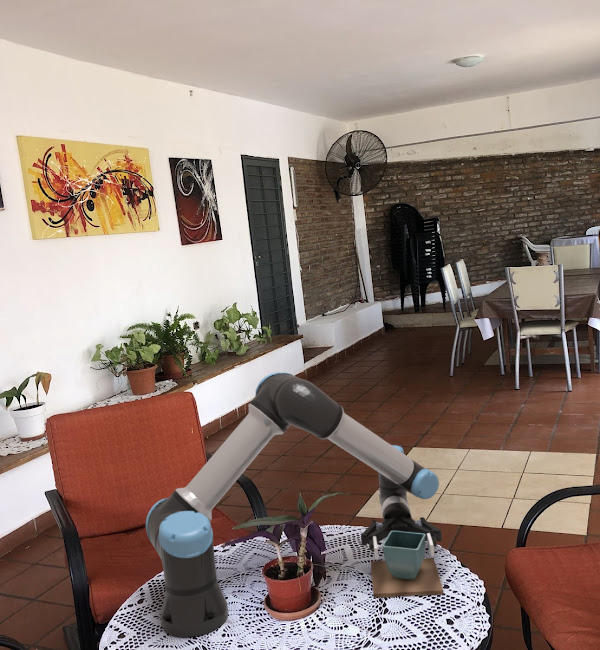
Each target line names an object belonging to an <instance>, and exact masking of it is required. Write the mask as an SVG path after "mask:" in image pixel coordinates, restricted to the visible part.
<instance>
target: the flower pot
mask: <svg viewBox="0 0 600 650" xmlns="http://www.w3.org/2000/svg"><path fill="white" fill-rule="evenodd" d="M425 537H426V534H423V533H412V532H402V531H391V532H390V533H389V535H388V537H386V538H385V540H384V542H383V543H382V545H381V547H382V552H383V557H384V560H385V562H386V565H387V568H388V570H389V571H390V573H391V574H392V575H393V576H394V577H395V578H403V579H411V580H414V579H415V578H416V576H417V573H418V571H419V569H420V567H421V564H422V562H423V559H424V558H425V552H426V540H425Z"/></svg>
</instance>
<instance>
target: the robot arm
mask: <svg viewBox="0 0 600 650" xmlns="http://www.w3.org/2000/svg"><path fill="white" fill-rule="evenodd" d="M290 426H293V427H295V428H297V429H300V430H303V431H305V432H307V433H309V434H311V435H313V436H315V437H316V438H318V439H320V440H329V441H330V442H331V443H332V444H335V445H337V447H339V448H341V449H343V450H344V451H345V452H347V453H349V454H350V455H351V456H354V458H356V459H357V460H359V461H361V462H363V463H364V464H366V465H367V466H368V467H370V468H372V469H373V470H375V471H376V472H378V481H379V482H378V484H379V487H378V488H379V489H378V490H379V495H378V496H379V504H380V507H381V516H382V522H378V521H377V520H376V519H372V520H371V523H370V524H369V526H368V527H367V528H366V529H365V530H364V531H363V532H362V533H361V535H360V539H361V540H360V541H361V542H360V543H361V545H362V546H366V545H368V547H369V548H368V550H369V551H373V552H374V559H375V560H379V550H378V543H380V542H381V541H382V540H384V539H386V538H387V537H388V535H389V533H390V532H391V531H402V532H412V533H423V534H426V537H425V542H427V548H428V550H429V554H430V556H431V557H434V556H435V549H434V548H436V547H437V542H441V541H443V540H442V539H443V538H442V535H443V534H442V530H441V529H440V528H438V527H436V526H435V525H434V524H432V523H430V522H429V521H427V520H426V518H425V517H424V516H423V517H420V518H419V520H415V519H413V517H412V514H411V510H410V505H409V503H408V494H407V493H409V494H411V495H413V496H414V497H416V498H419V499H421V500H429V499H431V498H433V497H434V496H435V495H436V493H437V492H438V491H439V487H440V483H439V480H440V479H439V478H438V475H437V474H436V473H435V472H433V471H431V470H430V469H429V468H425V467H424V466H423V465H421V464H419V463H418V462H416V461H415V460H413V459H412V458H410V457H409V456H407V455H406V454H405V452H404V451H405V450H404V448H403V447H402V446H401V445H396V444H395V445H394V444H390V443H389V442H387V441H385V440H384V439H383V438H382V437H380V436H379V435H377V434H376V433H375V432H372V430H371V429H369V428H367V427H366V426H364V425H363V424H362V423H360V422H358V421H357V420H355V419H353V418H352V417H351V416H349V415H348V414H346V412H345V411H344V408H343V406H342V405H340V404H339V403H338V402H336V401H335V400H334V399H332V398H331V397H330V396H329V395H327V394H326V393H325V392H324V391H323V390H322V389H320V388H319V387H318V386H316V385H315V384H314V383H313V382H310V381H309V380H306V379H303V378H300V377H299V376H298V377H297V376H295V375H294V374H291V373H289V372H281V371H279V372H273V373H270V374H268V375H266V376H264V377H263V378H262V379H261V380H260V381H259V383H257V386H256V389H255V396H254V397H253V399H252V400H251V401H250V402H249V404H248V414H247V415H246V416H245V417H244V418H243V419H242V420H241V422H240V423H239V424H238V425H237V426H236V428H235V429H234V430H233V431H232V432H231V434H230V435H229V436H228V437H227V439H225V441H224V442H223V443H222V444H221V445H220V447H219V448H218V449H217V450H216V451H215V452H214V454H213V455H212V456H211V457H210V458H209V459H208V461H207V462H206V463H205V464H204V465H203V466H202V468H201V469H200V470H199V471H198V472H197V474H196V475H194V477H193V478H192V479H191V480H190V482H189V483H187V485H186V486H185V487H179V488H176V489H174V491H173V492H172V493H171V494H170V496H169V497H166V498H162V499H160V500H158V501H157V502H156V503H154V504H153V505H152V506H151V508H150V509H149V511H148V513H147V515H146V519H145V530H146V534H147V538H148V540H149V541H150V543H151V544H152V546H153V547H154V550H155V551H156V552H157V554H158V556H159V557H160V560H161V562H162V569H163V578H164V587H165V593H164V598H163V603H162V607H161V611H160V620H161V621H160V622H161V628H162V629H163V630H164V632H165V633H167V634H168V635H171V636H174V637H180V638H193V637H199V636H203V635H206V634H208V633H210V632H213V631H215V630H217V629H218V628H220V626H222V625H224V623H225V622H226V621H227V619H228V618H229V617H228V616H229V608H228V602H227V599H226V597H225V595H224V593H223V591H222V589H221V587H220V584H219V583H218V578H217V577H218V576H217V567H216V558H215V550H214V534H213V532H214V531H213V528H212V525H211V521H212V519H213V516H212V511H213V509H214V508H215V506H216V505H217V504H218V503H219V502H220V500H221V499H222V498H223V497H224V496H225V495H226V494H227V493H228V491H229V490H230V489H231V488H232V486H233V485H234V484H235V483H236V482H237V480H239V478H241V475H243V473H244V472H245V471H246V470H247V469H248V467H249V466H250V465H251V463H252V462H253V461H254V460H255V459H256V458H257V457H258V455H260V453H261V452H262V450H263V449H264V448H265V447H266V446H267V444H268V443H269V442H270V441H271V440H272V438H274V436H278V435H283V434H284V433H285V432H286V431H287V430H288V429H289V427H290Z"/></svg>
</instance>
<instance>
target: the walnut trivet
mask: <svg viewBox="0 0 600 650" xmlns="http://www.w3.org/2000/svg"><path fill="white" fill-rule="evenodd" d="M370 568H371V569H370V570H371V583H372V591H373V592H372V594H373V599H377V597H382V598H397V597H396V596H402V597H412V596H411V595H422V596H436V595H437V596H438V595H444V589H443V585H442V582H441V579H440V578H441V577H440V574H439V571H438V568H437V564H436V560H435V558H434V557H424V559H423V562H422V564H421V567H420V569H419V571H418V573H417V576H416V578H415V579H414V580H411V579H403V578H395V577H394V576H393V575H392V574H391V573H390V571H389V570H388V568H387V565H386V562H385V559H384V560H370ZM394 596H395V597H394ZM375 597H376V598H375Z"/></svg>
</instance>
